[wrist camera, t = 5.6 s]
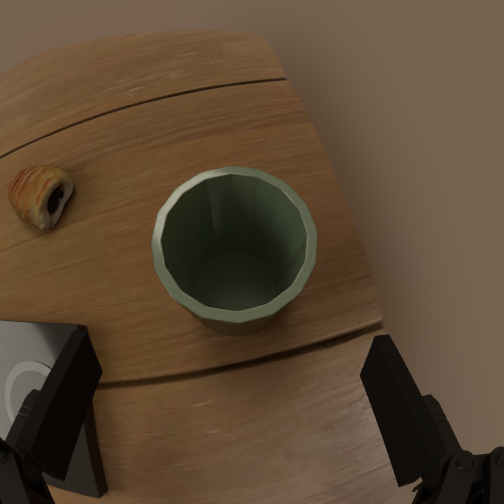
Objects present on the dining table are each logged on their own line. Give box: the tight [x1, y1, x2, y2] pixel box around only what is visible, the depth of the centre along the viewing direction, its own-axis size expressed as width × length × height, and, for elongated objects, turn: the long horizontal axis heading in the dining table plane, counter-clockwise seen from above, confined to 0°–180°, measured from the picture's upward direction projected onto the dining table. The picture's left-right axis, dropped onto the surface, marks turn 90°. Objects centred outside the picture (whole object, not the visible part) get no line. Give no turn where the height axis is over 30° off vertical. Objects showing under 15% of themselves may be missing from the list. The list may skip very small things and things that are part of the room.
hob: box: [0, 320, 108, 498], centre depth 18 cm, size 20×16×2 cm
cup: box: [151, 166, 318, 336], centre depth 19 cm, size 7×7×12 cm
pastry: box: [8, 165, 73, 230], centre depth 25 cm, size 9×7×4 cm
